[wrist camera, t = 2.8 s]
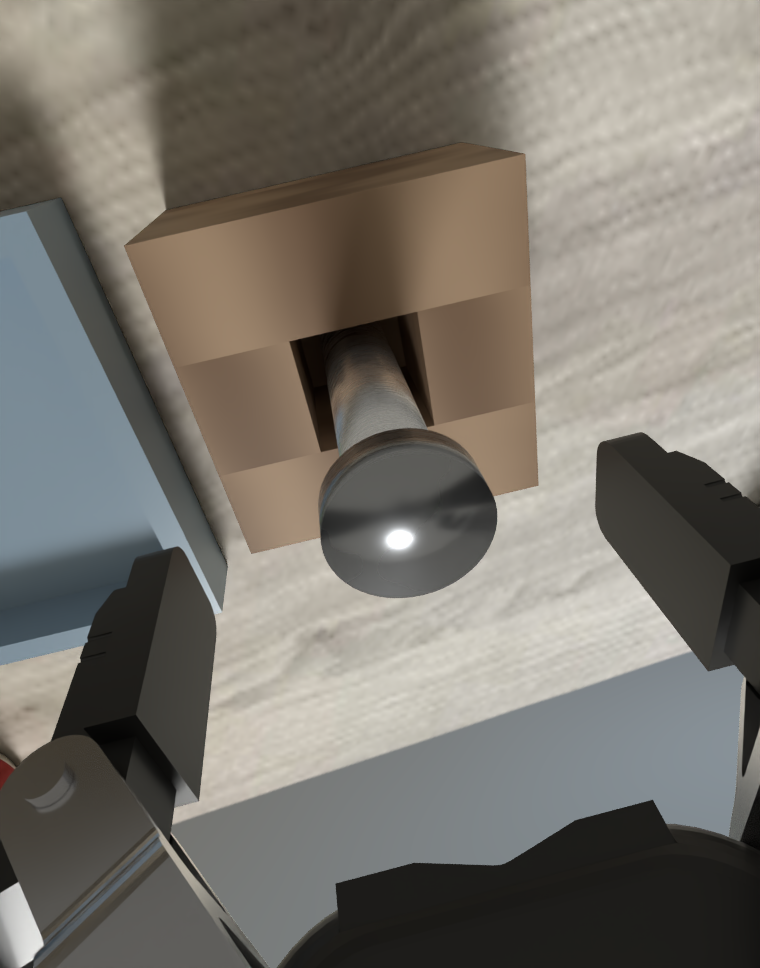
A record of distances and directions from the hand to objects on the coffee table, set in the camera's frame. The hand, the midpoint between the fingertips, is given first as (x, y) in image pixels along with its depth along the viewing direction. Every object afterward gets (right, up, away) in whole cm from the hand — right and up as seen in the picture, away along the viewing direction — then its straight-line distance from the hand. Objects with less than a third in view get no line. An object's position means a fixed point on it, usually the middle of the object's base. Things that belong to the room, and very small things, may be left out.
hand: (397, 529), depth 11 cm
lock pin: (-1, +6, +10) cm, 12 cm away
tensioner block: (-2, +7, +11) cm, 13 cm away
